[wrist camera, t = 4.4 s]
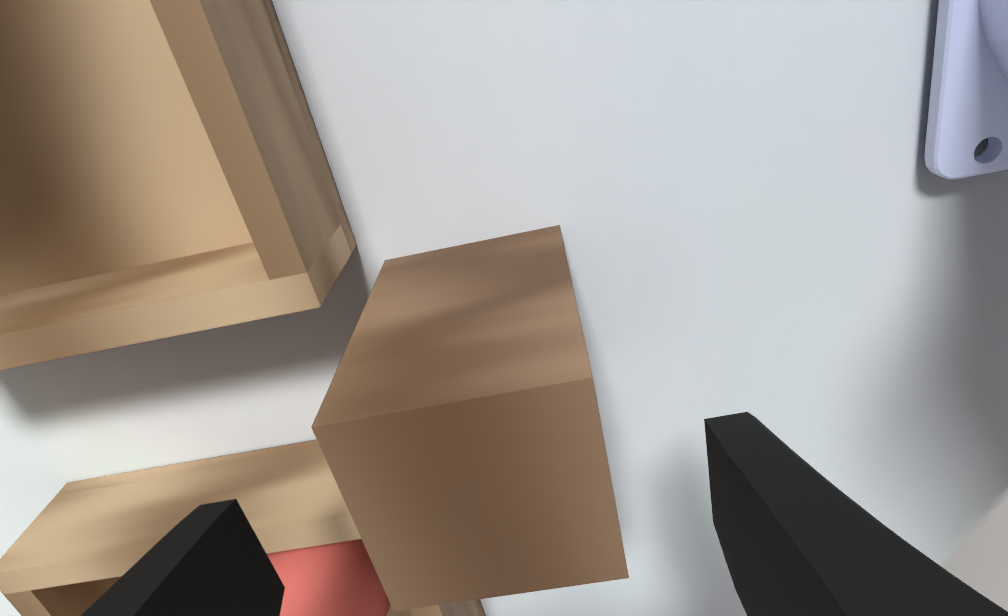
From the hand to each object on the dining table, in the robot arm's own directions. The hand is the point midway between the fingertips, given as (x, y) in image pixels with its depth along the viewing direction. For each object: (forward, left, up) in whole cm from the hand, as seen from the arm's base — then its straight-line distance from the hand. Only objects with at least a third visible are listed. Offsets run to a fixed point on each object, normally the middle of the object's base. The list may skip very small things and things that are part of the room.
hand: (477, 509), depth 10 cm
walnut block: (0, 0, -6) cm, 6 cm away
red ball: (+5, +5, -5) cm, 9 cm away
